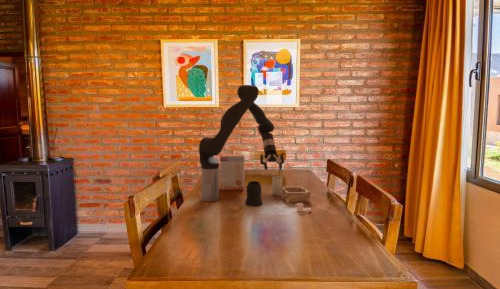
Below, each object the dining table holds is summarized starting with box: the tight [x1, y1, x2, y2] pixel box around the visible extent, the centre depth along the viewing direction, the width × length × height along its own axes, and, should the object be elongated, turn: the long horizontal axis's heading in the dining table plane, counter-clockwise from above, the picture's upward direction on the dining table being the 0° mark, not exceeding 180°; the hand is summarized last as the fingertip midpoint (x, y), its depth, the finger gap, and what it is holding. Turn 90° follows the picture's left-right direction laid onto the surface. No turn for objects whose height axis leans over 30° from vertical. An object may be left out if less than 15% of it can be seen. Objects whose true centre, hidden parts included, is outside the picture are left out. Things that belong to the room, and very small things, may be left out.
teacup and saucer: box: [291, 203, 312, 215], centre depth 153 cm, size 9×8×4 cm
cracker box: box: [219, 154, 246, 192], centre depth 192 cm, size 14×6×21 cm, turn 84°
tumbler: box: [271, 175, 283, 196], centre depth 183 cm, size 6×6×10 cm
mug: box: [244, 180, 263, 208], centre depth 165 cm, size 12×9×11 cm
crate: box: [280, 186, 311, 204], centre depth 172 cm, size 13×12×6 cm
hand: (273, 169), depth 190 cm, fingers open, 8 cm apart
